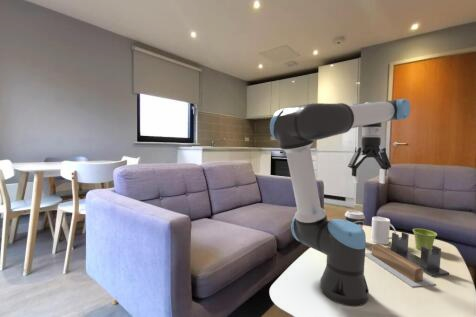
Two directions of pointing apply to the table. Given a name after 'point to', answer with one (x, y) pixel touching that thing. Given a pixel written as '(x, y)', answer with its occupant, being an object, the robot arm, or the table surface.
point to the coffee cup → (355, 217)
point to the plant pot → (424, 238)
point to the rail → (398, 263)
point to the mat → (399, 275)
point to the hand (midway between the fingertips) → (368, 183)
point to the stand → (427, 260)
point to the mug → (381, 230)
